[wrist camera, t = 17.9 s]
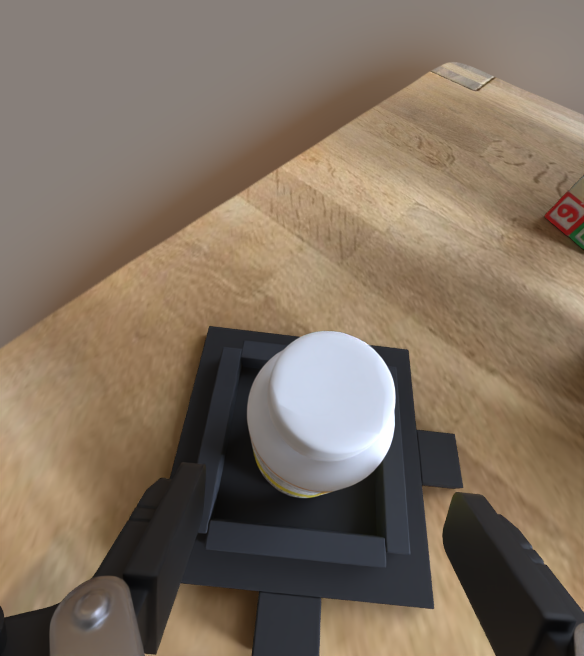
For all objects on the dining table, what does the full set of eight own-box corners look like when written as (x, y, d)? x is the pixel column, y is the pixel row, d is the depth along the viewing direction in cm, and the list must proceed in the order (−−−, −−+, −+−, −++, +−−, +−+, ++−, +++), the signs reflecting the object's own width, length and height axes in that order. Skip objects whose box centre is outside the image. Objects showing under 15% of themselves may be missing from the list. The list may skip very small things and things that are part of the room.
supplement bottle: (335, 392, 20) (390, 301, 12) (359, 488, 18) (454, 465, 9) (247, 405, 20) (234, 318, 11) (259, 508, 17) (254, 504, 8)
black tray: (133, 640, 15) (111, 662, 13) (211, 332, 23) (205, 314, 21) (481, 675, 15) (518, 702, 13) (435, 359, 23) (453, 343, 21)
